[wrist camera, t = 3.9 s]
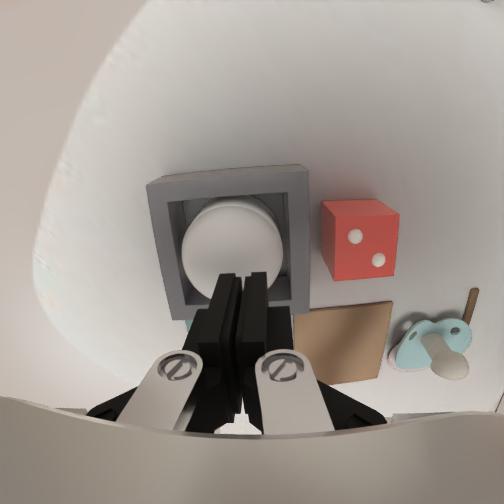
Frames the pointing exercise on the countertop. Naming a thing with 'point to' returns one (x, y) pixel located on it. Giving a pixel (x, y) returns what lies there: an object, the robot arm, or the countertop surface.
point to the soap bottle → (501, 406)
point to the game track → (348, 339)
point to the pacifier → (434, 348)
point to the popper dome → (231, 242)
